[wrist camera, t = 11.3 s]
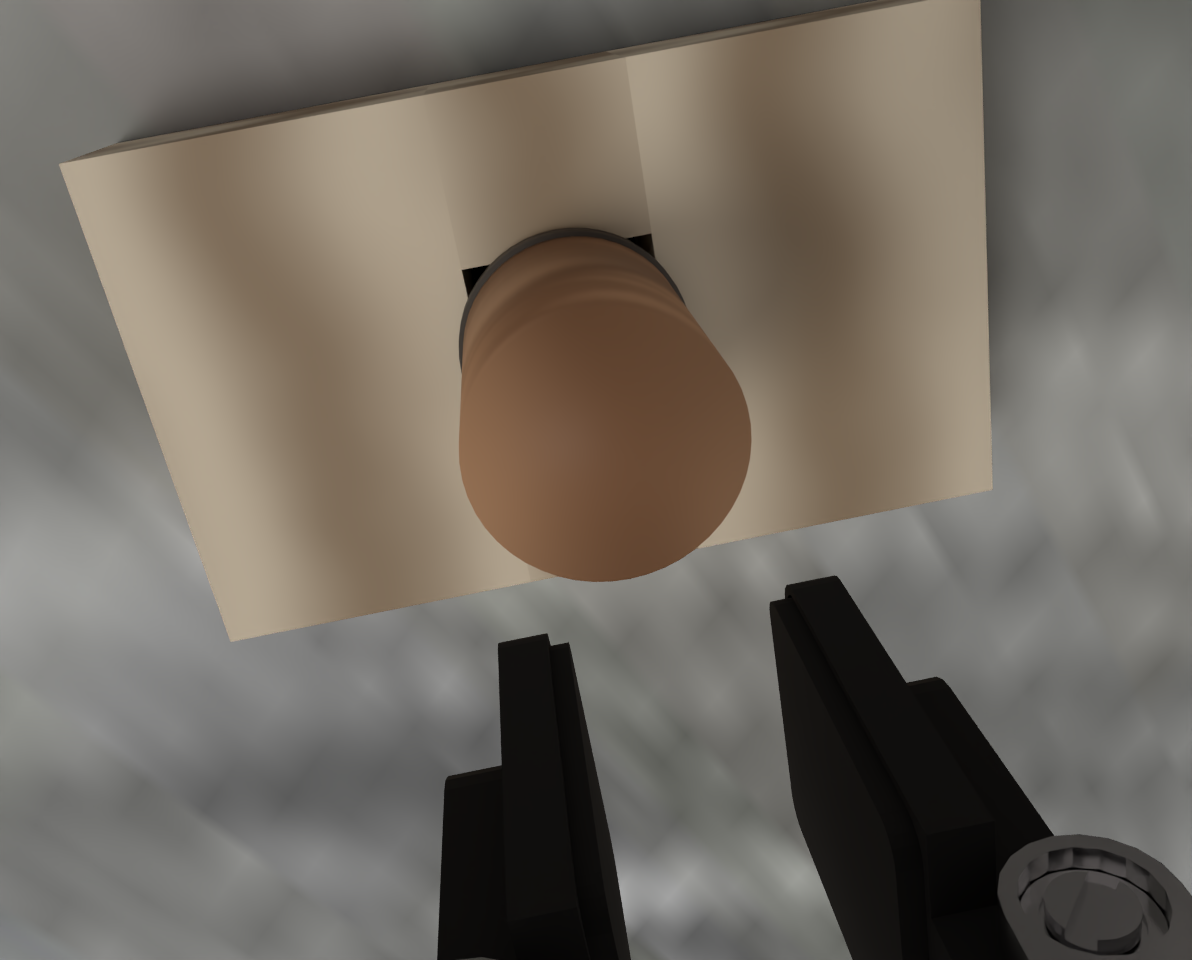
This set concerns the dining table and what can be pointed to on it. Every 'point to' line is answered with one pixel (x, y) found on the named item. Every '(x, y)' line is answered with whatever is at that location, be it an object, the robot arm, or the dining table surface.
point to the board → (523, 209)
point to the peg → (594, 410)
